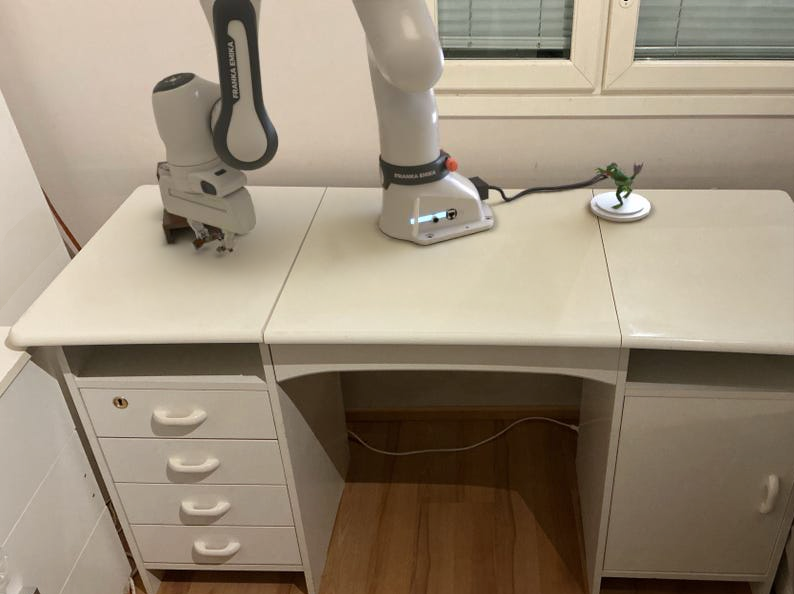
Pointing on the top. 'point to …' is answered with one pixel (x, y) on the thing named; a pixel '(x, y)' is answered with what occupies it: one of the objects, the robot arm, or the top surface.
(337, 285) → the top surface
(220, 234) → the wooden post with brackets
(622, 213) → the frog figurine
